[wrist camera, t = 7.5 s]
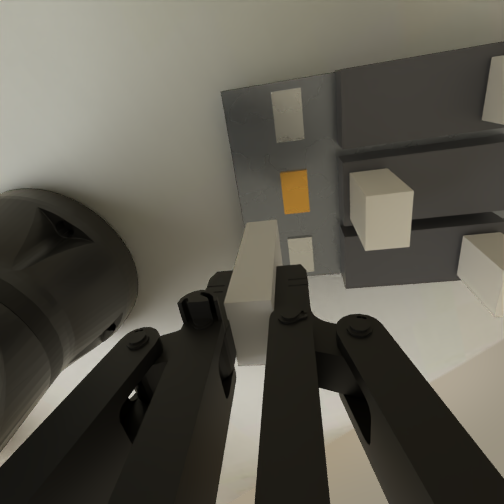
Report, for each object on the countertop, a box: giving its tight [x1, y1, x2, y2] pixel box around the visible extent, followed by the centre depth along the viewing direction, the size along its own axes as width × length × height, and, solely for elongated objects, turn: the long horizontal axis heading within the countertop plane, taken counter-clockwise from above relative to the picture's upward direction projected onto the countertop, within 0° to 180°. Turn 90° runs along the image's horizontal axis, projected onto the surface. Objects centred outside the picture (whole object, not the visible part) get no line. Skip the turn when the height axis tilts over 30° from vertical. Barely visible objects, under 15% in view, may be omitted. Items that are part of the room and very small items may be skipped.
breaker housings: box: [336, 42, 504, 317], centre depth 19 cm, size 10×14×7 cm
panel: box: [221, 72, 504, 276], centre depth 22 cm, size 24×14×2 cm, turn 98°
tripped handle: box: [349, 168, 414, 251], centre depth 18 cm, size 2×3×4 cm
